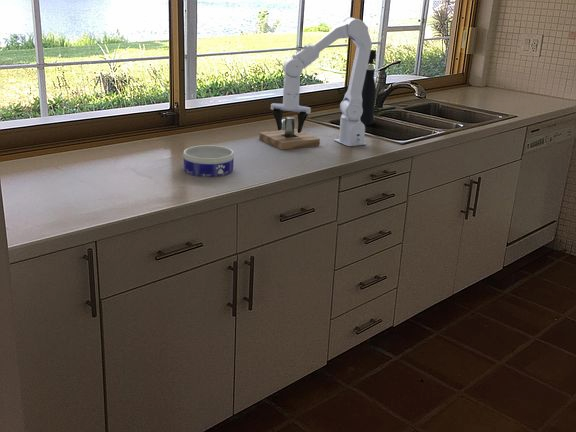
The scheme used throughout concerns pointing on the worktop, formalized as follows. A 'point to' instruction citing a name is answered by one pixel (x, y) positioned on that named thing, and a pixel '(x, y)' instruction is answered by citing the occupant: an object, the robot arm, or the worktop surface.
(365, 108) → the wine bottle
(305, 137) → the hole plate
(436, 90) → the worktop surface
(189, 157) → the dog bowl
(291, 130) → the long pin
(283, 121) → the short pin
